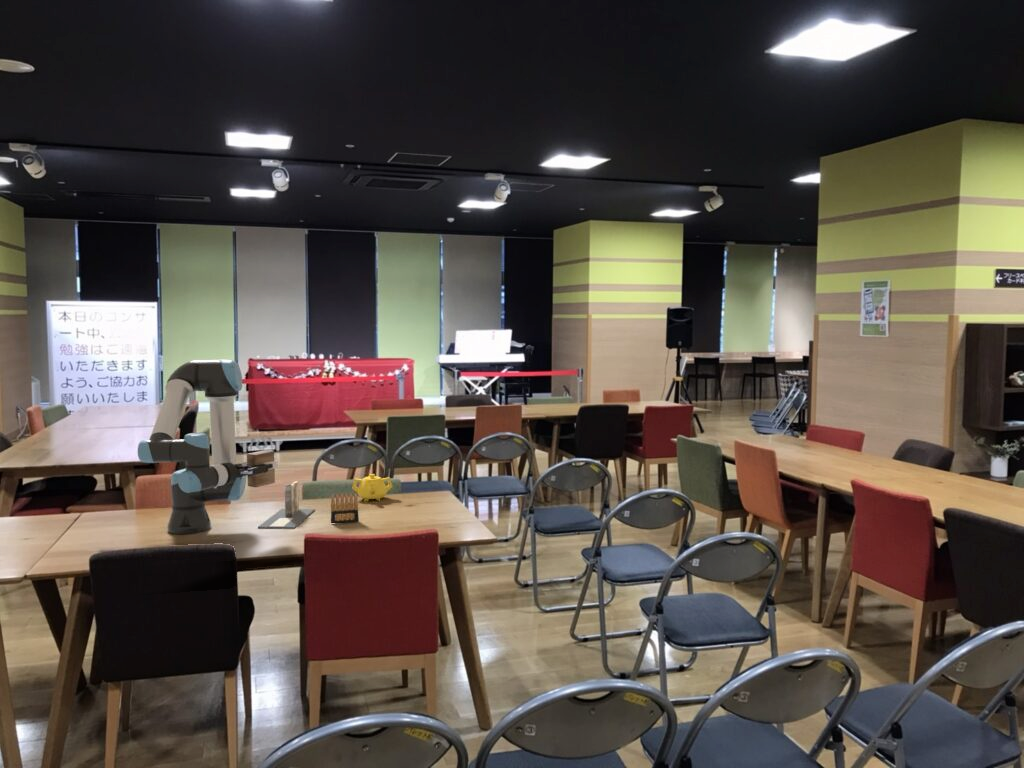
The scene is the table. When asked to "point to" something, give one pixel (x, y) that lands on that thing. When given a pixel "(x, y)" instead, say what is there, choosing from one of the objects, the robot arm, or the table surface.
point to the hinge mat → (286, 519)
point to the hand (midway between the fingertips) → (271, 463)
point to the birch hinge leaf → (291, 499)
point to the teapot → (372, 487)
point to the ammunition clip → (344, 509)
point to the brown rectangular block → (259, 459)
